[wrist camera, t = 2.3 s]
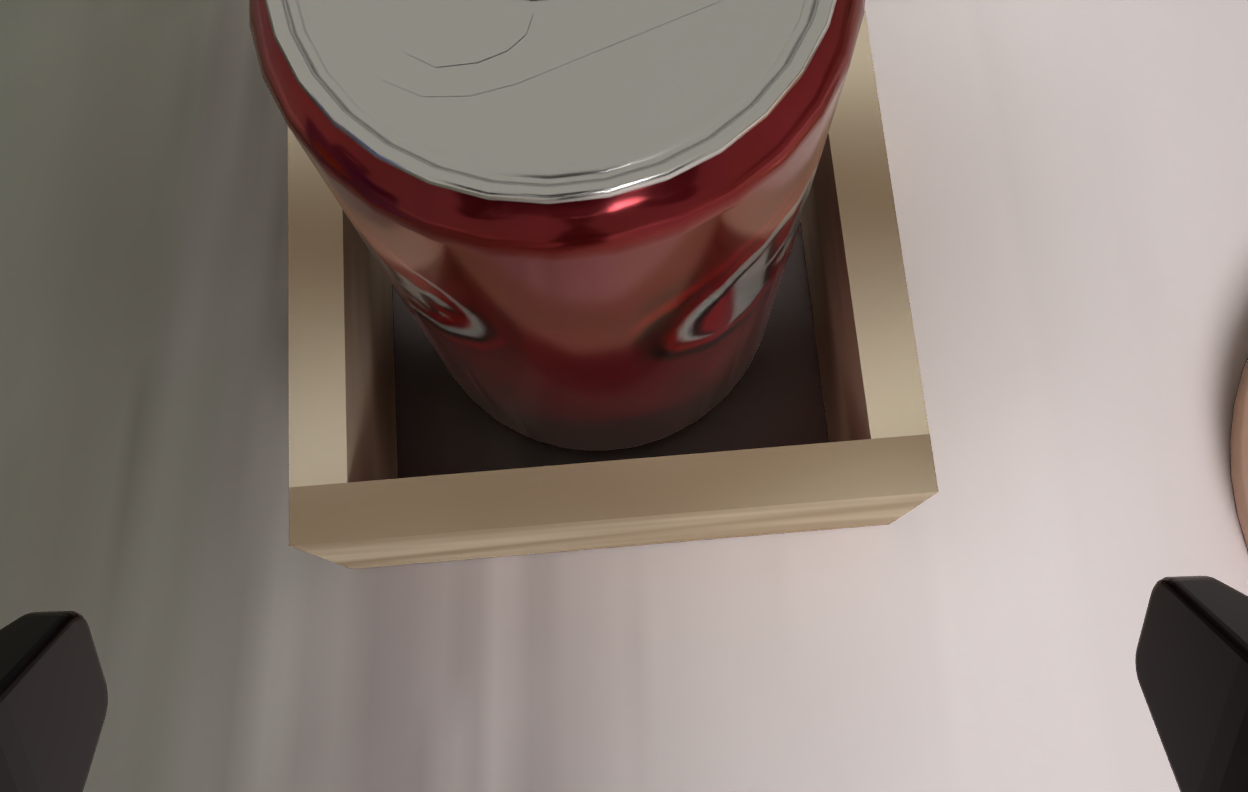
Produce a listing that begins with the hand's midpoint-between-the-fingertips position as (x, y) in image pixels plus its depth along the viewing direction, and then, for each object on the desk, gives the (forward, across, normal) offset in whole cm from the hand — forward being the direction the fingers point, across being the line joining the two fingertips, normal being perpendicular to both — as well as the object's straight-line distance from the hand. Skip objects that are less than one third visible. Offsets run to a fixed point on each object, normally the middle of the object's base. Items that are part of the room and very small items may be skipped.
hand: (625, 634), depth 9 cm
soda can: (+15, 0, +3) cm, 15 cm away
